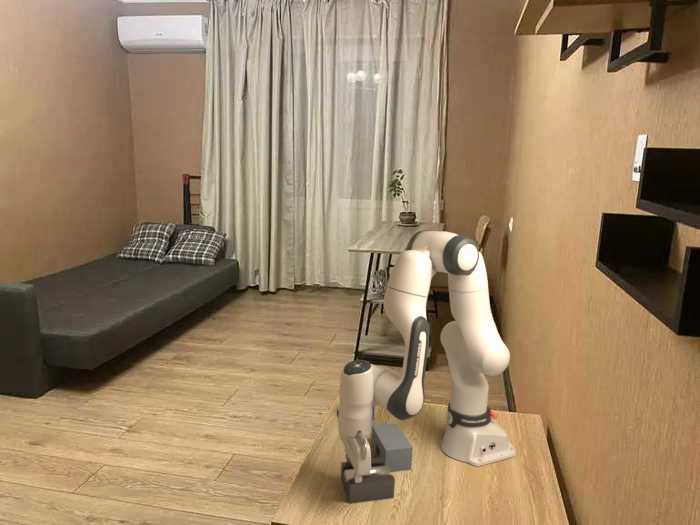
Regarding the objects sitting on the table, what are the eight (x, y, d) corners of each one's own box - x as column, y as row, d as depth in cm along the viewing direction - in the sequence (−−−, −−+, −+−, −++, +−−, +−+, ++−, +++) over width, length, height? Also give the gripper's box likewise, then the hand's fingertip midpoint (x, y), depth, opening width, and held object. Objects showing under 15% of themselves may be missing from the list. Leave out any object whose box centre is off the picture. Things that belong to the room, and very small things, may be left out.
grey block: (395, 443, 164) (396, 422, 162) (411, 469, 150) (412, 447, 149) (370, 445, 162) (371, 425, 160) (384, 472, 148) (385, 450, 147)
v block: (382, 475, 147) (383, 457, 146) (393, 497, 138) (394, 479, 137) (340, 480, 144) (341, 462, 143) (349, 503, 135) (350, 484, 134)
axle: (386, 473, 143) (386, 463, 143) (390, 479, 140) (390, 468, 140) (344, 478, 140) (344, 468, 140) (346, 484, 137) (346, 473, 137)
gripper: (378, 442, 127) (375, 493, 130) (357, 403, 146) (355, 448, 149) (353, 445, 125) (351, 496, 128) (335, 405, 145) (333, 450, 148)
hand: (353, 470), depth 139 cm, fingers open, 8 cm apart
